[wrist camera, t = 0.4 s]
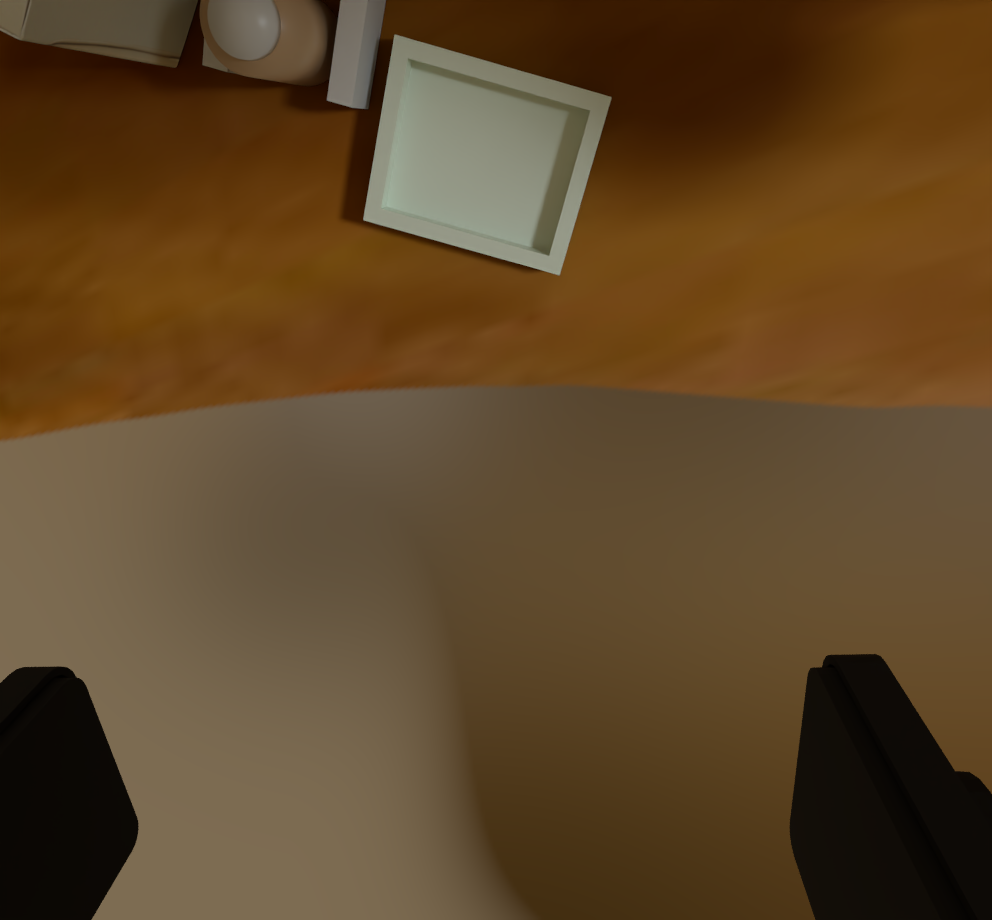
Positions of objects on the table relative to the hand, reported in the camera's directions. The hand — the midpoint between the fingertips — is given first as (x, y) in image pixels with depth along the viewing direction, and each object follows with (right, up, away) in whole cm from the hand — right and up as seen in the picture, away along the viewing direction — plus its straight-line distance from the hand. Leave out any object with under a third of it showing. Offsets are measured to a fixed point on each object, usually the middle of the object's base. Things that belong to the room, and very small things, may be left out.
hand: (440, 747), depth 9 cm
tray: (0, +19, +28) cm, 34 cm away
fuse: (-9, +25, +26) cm, 37 cm away
